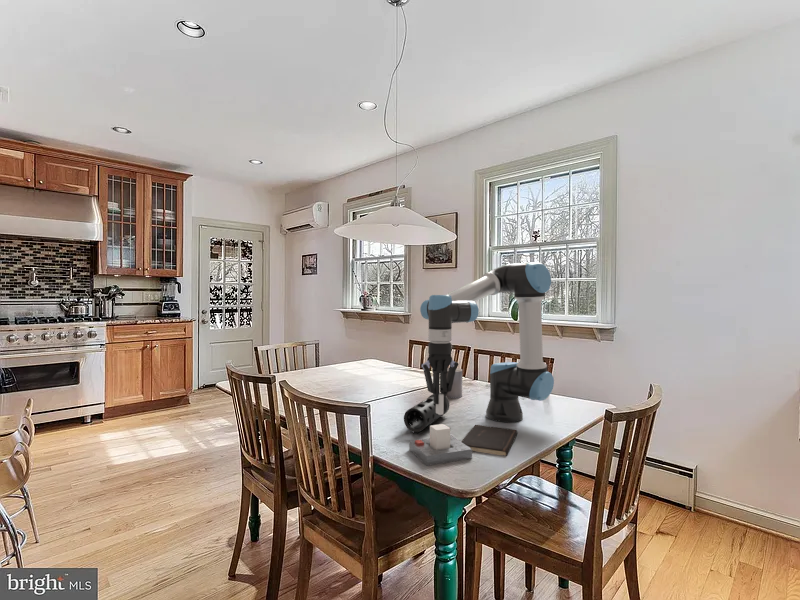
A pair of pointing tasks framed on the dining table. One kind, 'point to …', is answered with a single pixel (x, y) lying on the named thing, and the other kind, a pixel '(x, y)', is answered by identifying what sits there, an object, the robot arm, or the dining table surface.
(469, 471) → the dining table surface
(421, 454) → the socket plate
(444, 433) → the plug
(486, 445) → the hardcover book
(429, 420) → the muzzle brake
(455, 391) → the pillar candle
